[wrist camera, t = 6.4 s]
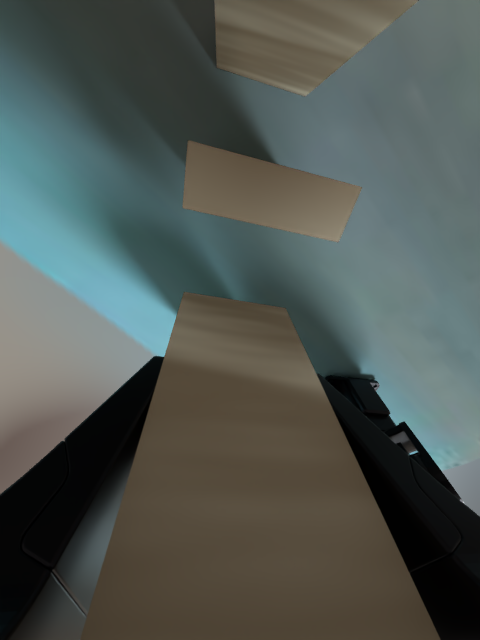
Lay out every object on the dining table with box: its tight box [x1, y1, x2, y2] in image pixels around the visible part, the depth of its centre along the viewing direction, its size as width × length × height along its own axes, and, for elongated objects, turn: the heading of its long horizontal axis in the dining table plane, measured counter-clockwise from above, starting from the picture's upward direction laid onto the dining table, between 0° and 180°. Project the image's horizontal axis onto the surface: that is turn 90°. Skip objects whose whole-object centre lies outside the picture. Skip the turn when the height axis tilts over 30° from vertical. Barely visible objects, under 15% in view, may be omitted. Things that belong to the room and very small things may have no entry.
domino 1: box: [214, 0, 419, 96], centre depth 8 cm, size 2×5×10 cm, turn 77°
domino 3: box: [80, 292, 440, 640], centre depth 7 cm, size 2×5×10 cm, turn 78°
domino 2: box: [183, 140, 362, 242], centre depth 11 cm, size 2×5×10 cm, turn 78°
